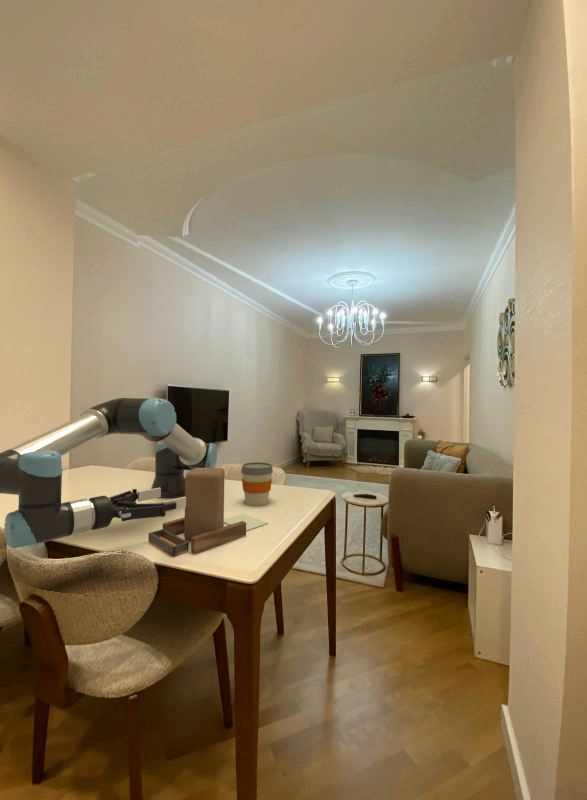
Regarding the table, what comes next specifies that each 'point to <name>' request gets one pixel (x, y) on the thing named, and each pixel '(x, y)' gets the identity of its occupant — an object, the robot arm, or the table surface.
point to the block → (203, 501)
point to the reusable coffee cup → (256, 482)
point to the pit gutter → (168, 542)
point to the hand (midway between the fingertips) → (172, 496)
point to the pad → (250, 521)
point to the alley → (208, 534)
